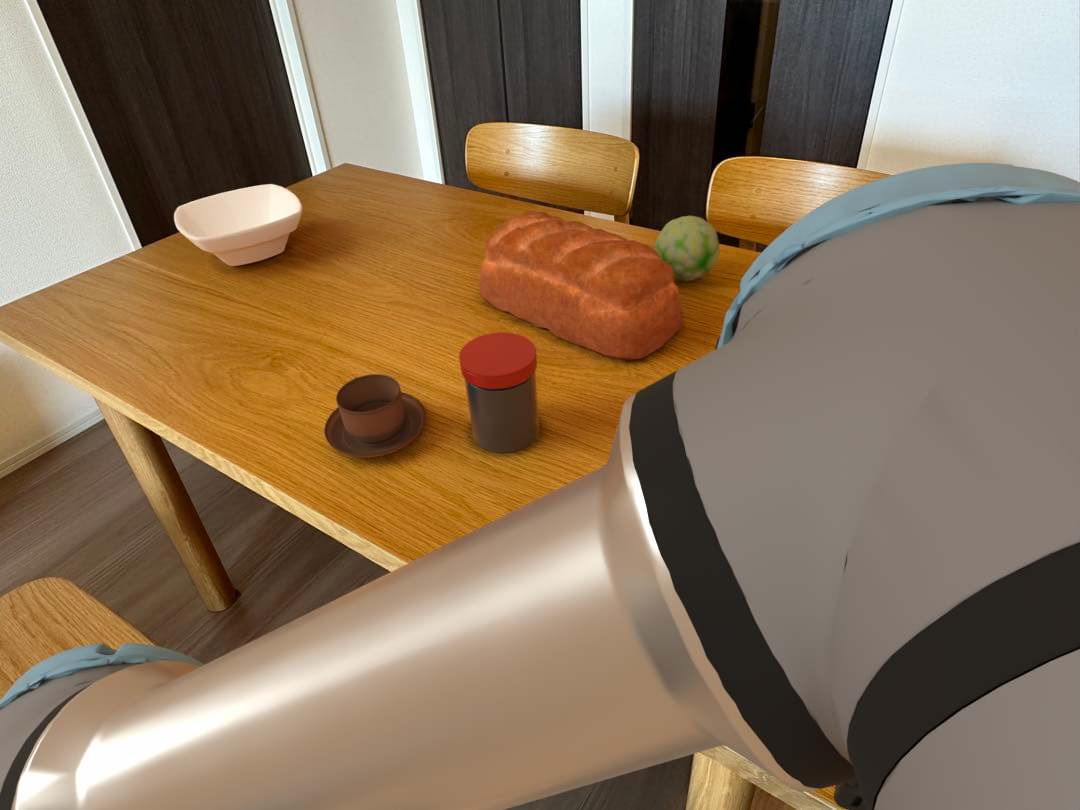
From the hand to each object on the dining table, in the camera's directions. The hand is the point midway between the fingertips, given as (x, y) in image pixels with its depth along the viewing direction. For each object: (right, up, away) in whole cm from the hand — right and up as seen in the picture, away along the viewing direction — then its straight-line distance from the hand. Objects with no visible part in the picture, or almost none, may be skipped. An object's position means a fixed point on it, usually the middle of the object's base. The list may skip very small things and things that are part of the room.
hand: (795, 622), depth 54 cm
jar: (-24, +14, +29) cm, 40 cm away
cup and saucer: (-40, +13, +30) cm, 51 cm away
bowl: (-72, +44, +72) cm, 111 cm away
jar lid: (-25, +22, +23) cm, 40 cm away
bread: (-14, +31, +50) cm, 61 cm away
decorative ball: (+3, +37, +57) cm, 68 cm away
